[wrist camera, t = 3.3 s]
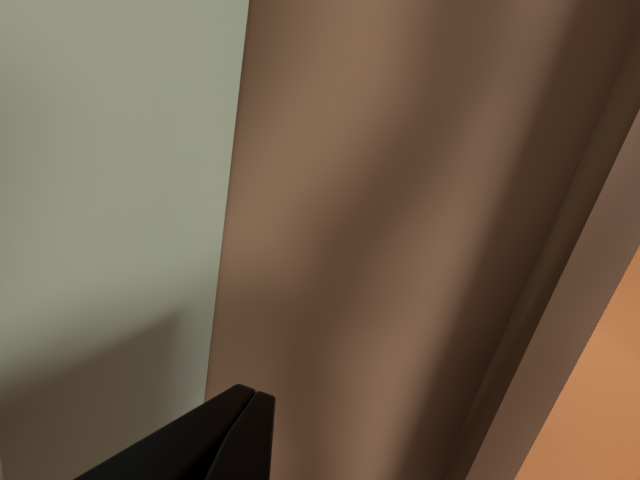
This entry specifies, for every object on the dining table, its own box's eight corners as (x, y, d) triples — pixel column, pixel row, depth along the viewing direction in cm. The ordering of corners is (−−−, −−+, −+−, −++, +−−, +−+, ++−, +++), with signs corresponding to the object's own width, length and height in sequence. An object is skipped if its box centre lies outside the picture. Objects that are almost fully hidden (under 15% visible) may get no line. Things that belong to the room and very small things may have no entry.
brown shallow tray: (765, -168, 9) (931, -301, 6) (421, 568, 18) (419, 657, 15) (252, -213, 11) (185, -328, 8) (185, 470, 20) (143, 533, 18)
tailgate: (269, -181, 10) (-202, -977, 3) (194, 486, 19) (39, 736, 11) (202, -188, 10) (-388, -914, 3) (159, 471, 19) (-13, 706, 12)
